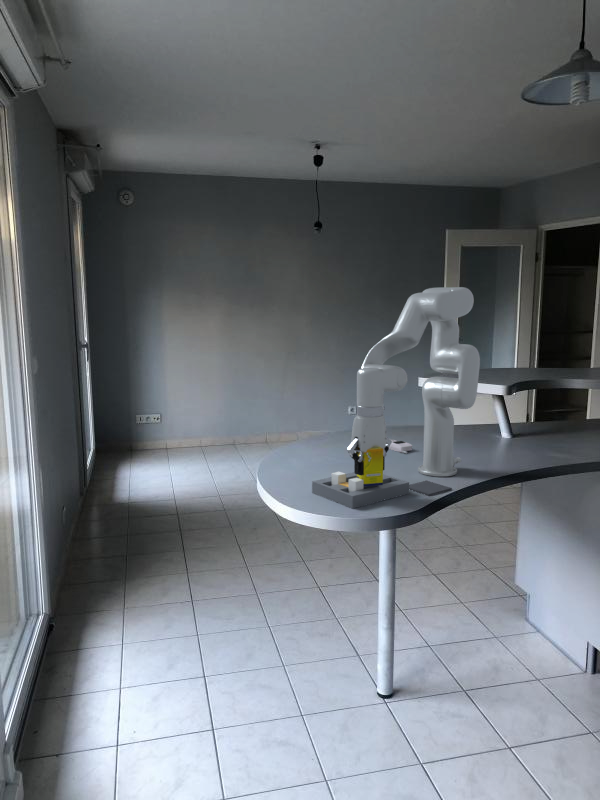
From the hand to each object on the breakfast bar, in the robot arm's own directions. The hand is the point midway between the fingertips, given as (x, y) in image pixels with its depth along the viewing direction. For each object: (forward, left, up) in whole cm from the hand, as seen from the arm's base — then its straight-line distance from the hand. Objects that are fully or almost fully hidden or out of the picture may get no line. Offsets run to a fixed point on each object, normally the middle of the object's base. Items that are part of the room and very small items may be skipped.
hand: (369, 471), depth 180 cm
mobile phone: (-49, -42, -8) cm, 65 cm away
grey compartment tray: (0, -4, -7) cm, 8 cm away
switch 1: (+5, -8, -5) cm, 11 cm away
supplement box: (0, 0, -4) cm, 4 cm away
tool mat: (-19, +5, -7) cm, 21 cm away
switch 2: (+5, 0, -5) cm, 7 cm away
